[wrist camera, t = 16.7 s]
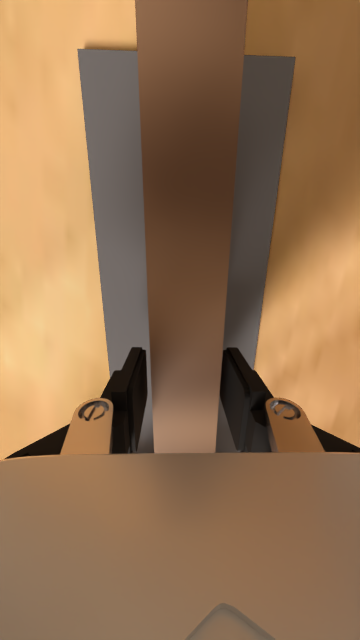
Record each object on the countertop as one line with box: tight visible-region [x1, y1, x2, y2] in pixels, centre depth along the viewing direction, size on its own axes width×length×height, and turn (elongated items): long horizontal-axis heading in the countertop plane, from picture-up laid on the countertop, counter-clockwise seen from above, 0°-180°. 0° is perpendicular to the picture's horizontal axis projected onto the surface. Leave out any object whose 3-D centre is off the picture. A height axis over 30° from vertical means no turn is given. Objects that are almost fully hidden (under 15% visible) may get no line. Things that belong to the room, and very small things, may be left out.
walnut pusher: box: [135, 0, 248, 453], centre depth 12 cm, size 25×7×5 cm, turn 0°
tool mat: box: [78, 49, 295, 453], centre depth 14 cm, size 30×10×1 cm, turn 179°
